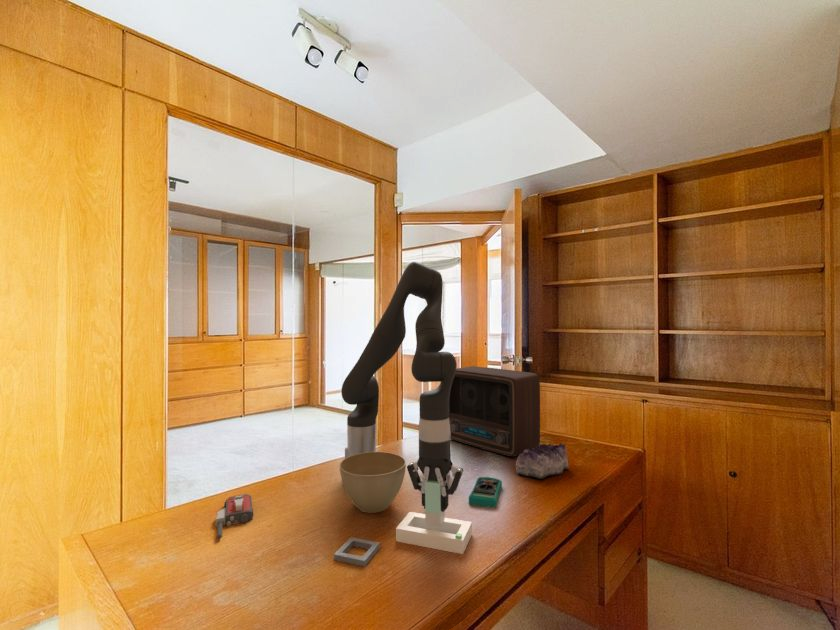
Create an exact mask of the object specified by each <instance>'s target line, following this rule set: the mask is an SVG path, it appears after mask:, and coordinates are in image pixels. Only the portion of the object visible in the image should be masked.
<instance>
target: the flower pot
mask: <svg viewBox="0 0 840 630" xmlns="http://www.w3.org/2000/svg"><path fill="white" fill-rule="evenodd" d="M406 462H407V461H406V459H405V458H404V457H403V456H401V455H399V454H398V453H392V452H388V451H387V452H386V451H376V452H365V453H360V454H355V455H352V456H349V457H347V458H345V457H344V459H343V460H341V461H340V463H339V472H340V478H341V482H342V484H343V488H344V490H345V492H346V494H347V496H348V497H349V500H350V501H351V502H352V503H353V504H354V506H355V507H356V508H357V509H358V510H360V511H361V512H363V513H369V514H375V513H381V512H383V511H385V510H387V509H388V508H389V507H390V506H391V504H392V503H393V502H394V501H395V499H396V497H397V496H398V494H399V492H400V490H401V488H402V485H403V482H404V478H405V473H406V469H407V466H406V465H407V463H406Z"/></svg>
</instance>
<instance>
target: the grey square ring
mask: <svg viewBox="0 0 840 630" xmlns="http://www.w3.org/2000/svg"><path fill="white" fill-rule="evenodd" d="M353 547H356V548H362V549H366V550H367V551H366V552H365V553H364V554H363V555H362V556H361V555H356V554H350V553H348V552H349V551H350V550H351V549H352V548H353ZM380 549H381V543H380V542H378V541H372V540H368V539H362V538H357V537H352V536H351V537H349V539H348V540H347V541H346V542H344V543H343V545H342V546H341V547H340V548H339V549H338V550H336V552H334V554H333V561H338V562H342V563H346V564H351V565H355V566H361V567H366V566H367V564H369V562H370V561H371V560H372V559H373V557H375V555H376V554H377V552H378V551H379V550H380Z"/></svg>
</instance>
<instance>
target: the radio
mask: <svg viewBox="0 0 840 630" xmlns="http://www.w3.org/2000/svg"><path fill="white" fill-rule="evenodd" d="M540 384H541V383H540V377H539V375H538V374H537V373H535V372H534V373H533V372H528V371H522V370H512V369H505V368H494V367H485V366H473V365H472V366H463V367H458V368H457V367H456V372H455V376H454V379H453V383H452V387H451V391H450V397H449V421H450V431H451V436H450V440H453V441H456V442H459V443H461V444H465V445H469V446H473V447H475V448H479V449H483V450H485V451H489V452H492V453H497V454H499V455H503V456H507V457H513V458H514V457H516V456H517V457H518V456H519V454H521V453H523V451H524V450H525V449H527V450H528V449H530V448H531V449H532V448H535V447H538V446H540V445H541V443H540V442H541V389H540V388H541V385H540Z"/></svg>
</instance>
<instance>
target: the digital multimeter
mask: <svg viewBox="0 0 840 630" xmlns="http://www.w3.org/2000/svg"><path fill="white" fill-rule="evenodd" d="M502 488H503V481H502V480H501V479H499V478H495V477H488V476H479V477H477V478H476V480H475V484H474V486H473V488H472V490H471V493H470V494H469V496H468V504H469V505H471V506H477V507H482V508H483V507H484V508H485V507H487V508H494V509H495V508H496V507H497V504H498V499H499V495H500V492H501V490H502Z"/></svg>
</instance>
